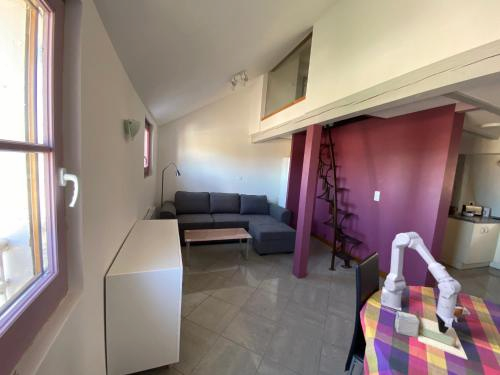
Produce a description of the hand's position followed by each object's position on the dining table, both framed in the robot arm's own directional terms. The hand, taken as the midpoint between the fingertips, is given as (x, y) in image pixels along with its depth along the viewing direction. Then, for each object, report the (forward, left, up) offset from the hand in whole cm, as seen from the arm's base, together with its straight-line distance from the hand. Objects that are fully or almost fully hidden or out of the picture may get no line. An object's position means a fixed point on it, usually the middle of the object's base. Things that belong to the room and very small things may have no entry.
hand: (441, 331), depth 99 cm
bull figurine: (+7, +18, -2) cm, 19 cm away
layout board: (-2, 0, -2) cm, 3 cm away
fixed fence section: (-9, +2, -2) cm, 9 cm away
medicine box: (-14, -7, -2) cm, 16 cm away
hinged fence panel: (-3, -5, -1) cm, 6 cm away
